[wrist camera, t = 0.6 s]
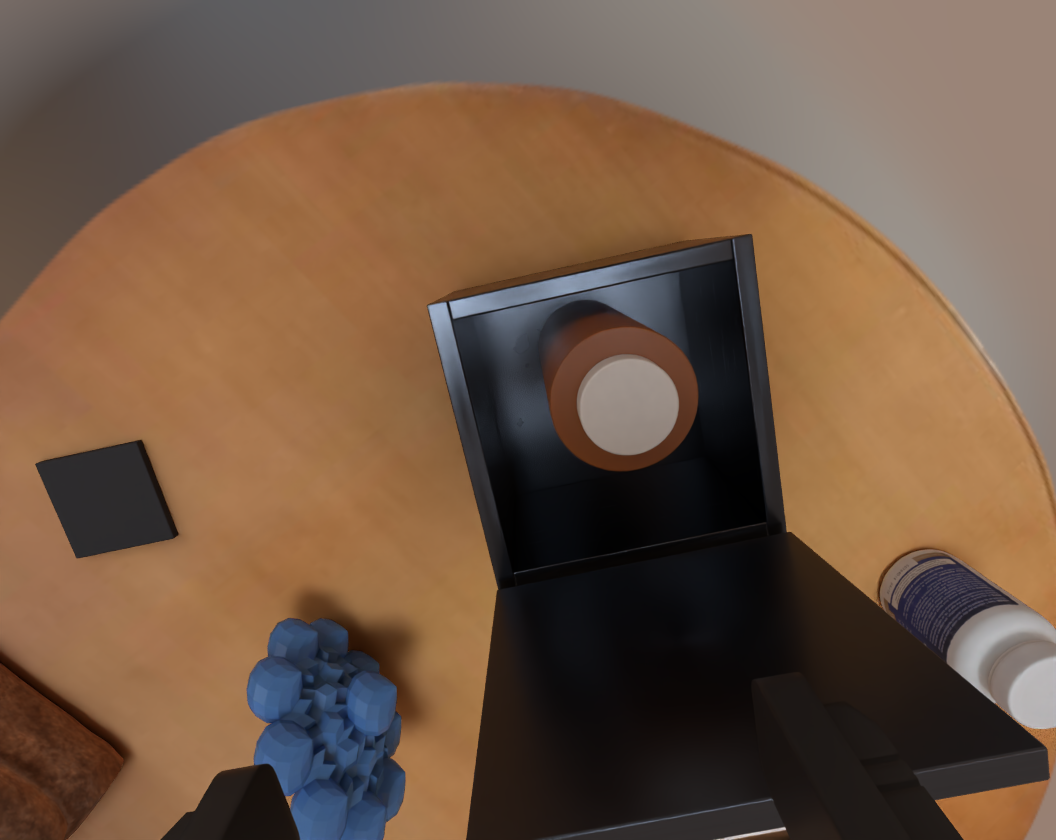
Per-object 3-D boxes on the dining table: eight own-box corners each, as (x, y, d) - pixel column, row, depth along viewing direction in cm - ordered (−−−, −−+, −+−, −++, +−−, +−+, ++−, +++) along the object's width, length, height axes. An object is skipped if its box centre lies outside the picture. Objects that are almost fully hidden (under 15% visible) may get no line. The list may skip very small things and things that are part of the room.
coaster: (41, 461, 35) (34, 464, 35) (141, 439, 35) (136, 442, 35) (82, 555, 37) (76, 558, 36) (178, 534, 37) (174, 538, 36)
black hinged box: (453, 291, 33) (426, 304, 24) (685, 240, 33) (752, 233, 23) (504, 505, 36) (498, 592, 27) (716, 461, 36) (787, 535, 26)
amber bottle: (529, 310, 33) (536, 348, 19) (622, 290, 33) (695, 314, 19) (548, 401, 34) (567, 495, 20) (638, 382, 34) (717, 465, 20)
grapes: (470, 689, 40) (450, 868, 28) (385, 740, 40) (332, 934, 29) (357, 552, 37) (283, 686, 25) (269, 609, 38) (159, 764, 26)
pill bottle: (860, 609, 38) (971, 723, 29) (903, 534, 37) (1033, 629, 28) (936, 635, 39) (1069, 756, 30) (980, 563, 38) (1134, 665, 28)
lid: (463, 853, 14) (519, 1065, 14) (1048, 747, 13) (1066, 973, 14) (496, 589, 26) (525, 710, 27) (790, 531, 26) (809, 656, 27)
